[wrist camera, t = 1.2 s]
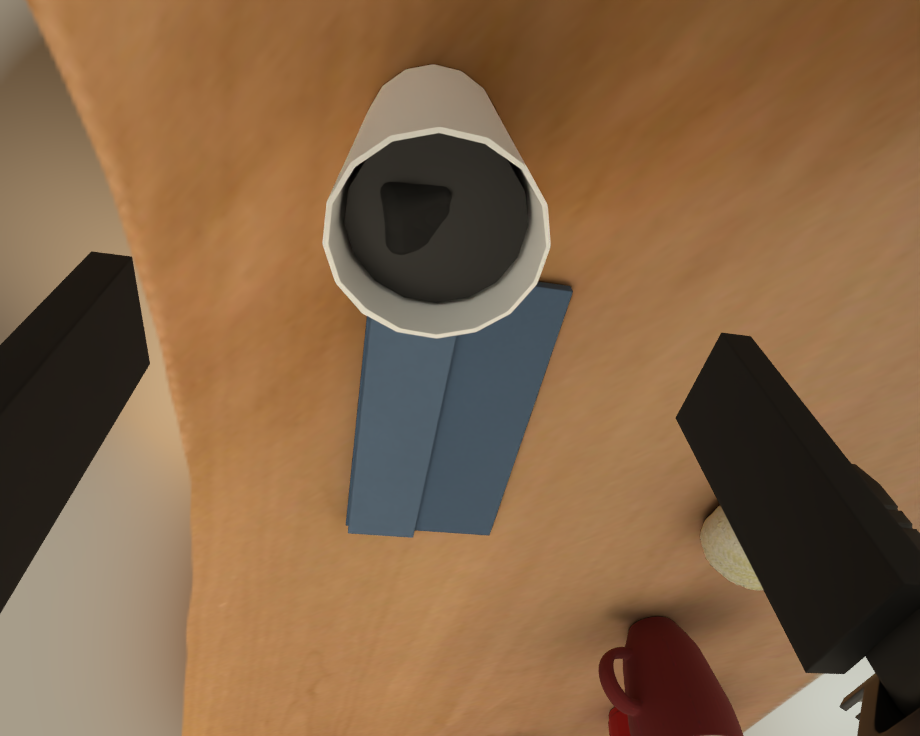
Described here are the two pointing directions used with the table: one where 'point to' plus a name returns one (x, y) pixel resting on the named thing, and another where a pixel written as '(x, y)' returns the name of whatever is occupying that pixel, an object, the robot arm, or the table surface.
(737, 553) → the sea urchin shell
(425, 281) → the white paper cup
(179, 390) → the table surface
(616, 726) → the plastic cup
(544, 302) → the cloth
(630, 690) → the mug
